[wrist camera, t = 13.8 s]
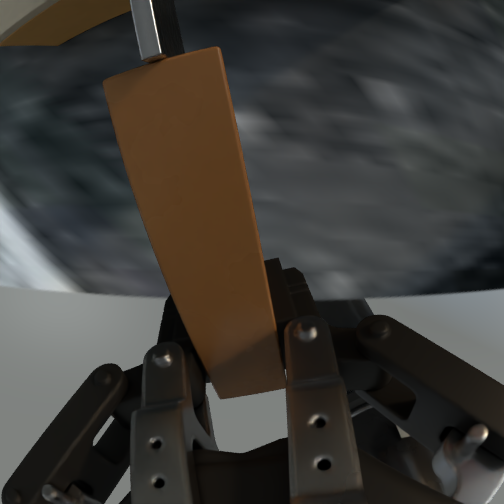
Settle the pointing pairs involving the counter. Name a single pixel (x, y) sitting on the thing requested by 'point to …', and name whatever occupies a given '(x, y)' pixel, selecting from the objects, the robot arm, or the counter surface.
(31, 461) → the robot arm
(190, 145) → the knife
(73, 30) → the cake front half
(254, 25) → the counter surface
